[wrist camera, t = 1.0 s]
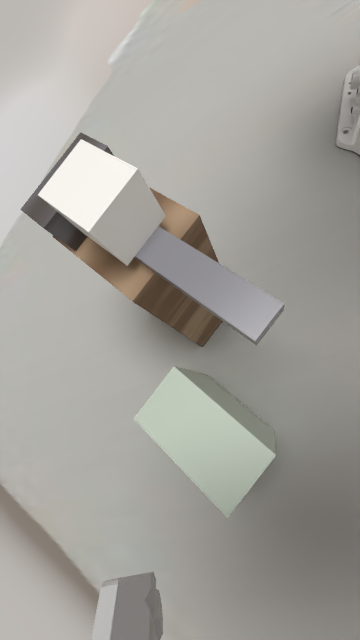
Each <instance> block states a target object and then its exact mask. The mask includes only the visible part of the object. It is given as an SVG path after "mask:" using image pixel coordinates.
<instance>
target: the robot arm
mask: <svg viewBox="0 0 360 640" xmlns="http://www.w3.org/2000/svg"><path fill="white" fill-rule="evenodd" d="M345 133H346V134H345ZM336 145H337V146H338V147H340V148H343V149H347V150H351V151H354V152H356V153H357V154H359V155H360V65H358V66H356V67H355V68H353V69H352V70H351V71H349V72H348V73H347V74H346V77H345V80H344V85H343V92H342V99H341V107H340V114H339V122H338V129H337V136H336ZM162 634H163V617H162V604H161V598H160V593H159V590H157V589H156V578H155V575H154V572H149V573H144V574H138V575H133V576H128V577H123V578H116V579H112V580H107V581H104V582H103V584H102V587H101V589H100V594H99V600H98V605H97V611H96V616H95V621H94V627H93V631H92V637H91V640H160V639H161V636H162Z"/></svg>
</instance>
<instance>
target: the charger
mask: <svg viewBox="0 0 360 640" xmlns="http://www.w3.org/2000/svg"><path fill="white" fill-rule="evenodd" d="M38 196H40V197H41V198H42V199H43V200H44V201H46V202H47V203H48V204H49V205H50V206H51V207H53V208H54V209H55V210H56V211H57V212H59V213H60V214H61V215H62V216H63V217H64V218H66V219H67V220H68V221H69V222H70V223H72V224H73V225H74V226H75V227H76V228H78V229H79V230H80V231H81V232H82V233H84V234H85V235H86V236H88V237H89V238H90V239H92V240H93V241H94V242H96V243H97V244H98V245H100V246H101V247H102V248H104V249H105V250H106V251H108V252H109V253H110V254H112V255H113V256H115V257H116V258H117V259H119V260H120V261H121V262H123V263H124V264H125V265H127V266H128V264H129V263H130V262H131V261H132V259H133V258H135V259H137V260H138V261H139V262H141V263H142V264H144V265H145V266H146V267H148V268H149V269H151V270H152V271H153V272H155V273H156V274H157V275H159V276H160V277H162V278H163V279H164V280H166V281H167V282H169V283H170V284H171V285H173V286H174V287H176V288H177V289H178V290H180V291H181V292H183V293H184V294H185V295H187V296H188V297H190V298H191V299H192V300H194V301H195V302H197V303H198V304H199V305H201V306H202V307H204V308H205V309H206V310H208V311H209V312H211V313H212V314H213V315H215V316H216V317H218V318H219V319H220V320H222V321H223V322H225V323H226V324H227V325H229V326H230V327H232V328H233V329H234V330H236V331H237V332H239V333H240V334H241V335H243V336H244V337H246V338H247V339H248V340H250V341H251V342H253V343H254V344H255V345H257V344H258V343H259V341H260V340H261V339H262V337H263V336H264V335H265V334H266V332H267V331H268V330H269V328H270V327H271V326H272V324H273V323H274V322H275V321H276V319H277V318H278V317H279V315H280V314H281V313H282V312H283V309H284V303H283V302H281V301H279V300H278V299H276V298H274V297H273V296H271V295H270V294H268V293H266V292H265V291H263V290H261V289H260V288H258V287H257V286H255V285H253V284H252V283H250V282H248V281H247V280H245V279H244V278H242V277H240V276H239V275H237V274H235V273H234V272H232V271H231V270H229V269H227V268H226V267H224V266H222V265H221V264H219V263H218V262H216V261H214V260H213V259H211V258H209V257H208V256H206V255H205V254H203V253H201V252H200V251H198V250H196V249H195V248H193V247H192V246H190V245H188V244H187V243H185V242H184V241H182V240H180V239H179V238H177V237H175V236H174V235H172V234H171V233H169V232H167V231H166V230H164V229H162V228H161V227H159V225H160V223H161V222H162V221H163V219H164V218H165V217H166V215H165V213H164V212H163V210H162V208H161V207H160V205H159V203H158V202H157V200H156V198H155V197H154V195H153V193H152V192H151V190H150V188H149V187H148V185H147V183H146V181H145V180H144V178H143V176H142V175H141V173H140V171H139V170H138V168H136V167H134V166H132V165H130V164H128V163H126V162H124V161H122V160H120V159H118V158H116V157H114V156H113V155H111V154H109V153H107V152H105V151H103V150H101V149H99V148H97V147H95V146H93V145H91V144H90V143H88V142H86V141H84V140H82V139H81V140H80V141H79V142H78V144H77V145H76V146H75V147H74V149H73V150H72V151H71V153H70V154H69V155H68V156H67V158H66V159H65V160H64V162H63V163H62V164H61V165H60V167H59V168H58V169H57V171H56V172H55V173H54V174H53V176H52V177H51V178H50V180H49V181H48V182H47V183H46V185H45V186H44V187H43V189H42V190H41V191H40V192H39V194H38Z"/></svg>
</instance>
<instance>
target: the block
mask: <svg viewBox="0 0 360 640" xmlns="http://www.w3.org/2000/svg"><path fill="white" fill-rule="evenodd" d="M133 419H134V420H135V421H136V422H137V423H138V424H139V425H140V426H141V427H142V428H143V429H144V430H145V431H146V432H147V434H148V435H149V436H150V437H151V438H152V439H153V440H154V441H155V442H156V443H157V444H158V445H159V446H160V447H161V448H162V449H163V450H164V452H165V453H166V454H167V455H168V456H169V457H170V458H171V459H172V460H173V461H174V462H175V463H176V464H177V465H178V466H179V467H180V469H181V470H182V471H183V472H184V473H185V474H186V475H187V476H188V477H189V478H190V479H191V480H192V481H193V482H194V483H195V484H196V485H197V487H198V488H199V489H200V490H201V491H202V492H203V493H204V494H205V495H206V496H207V497H208V498H209V499H210V500H211V501H212V502H213V503H214V505H215V506H216V507H217V508H218V509H219V510H220V511H221V512H222V513H223V514H224V515H225V516H226V517H227V518H228V517H229V516H230V514H231V513H232V512H233V511H234V509H235V508H236V507H237V505H238V504H239V503H240V502H241V500H242V499H243V498H244V496H245V495H246V494H247V492H248V491H249V490H250V489H251V487H252V486H253V485H254V483H255V482H256V481H257V479H258V478H259V477H260V476H261V474H262V473H263V472H264V470H265V469H266V468H267V466H268V465H269V464H270V463H271V461H272V460H273V459H274V457H275V456H276V448H275V435H274V430H272V429H271V428H270V427H269V426H268V425H266V424H265V423H264V422H263V421H262V420H261V419H259V418H258V417H257V416H256V415H255V414H253V413H252V412H251V411H250V410H249V409H247V408H246V407H245V406H244V405H243V404H241V403H240V402H239V401H238V400H237V399H235V398H234V397H233V396H232V395H231V394H229V393H228V392H227V391H226V390H225V389H223V388H222V387H221V386H220V385H219V384H217V383H216V382H215V381H214V380H213V379H211V378H210V377H209V376H208V375H205V374H201V373H198V372H194V371H190V370H186V369H183V368H179V367H175V366H174V367H173V368H172V369H171V371H170V372H169V373H168V375H167V376H166V377H165V378H164V380H163V381H162V382H161V384H160V385H159V386H158V387H157V389H156V390H155V391H154V393H153V394H152V395H151V396H150V398H149V399H148V400H147V402H146V403H145V404H144V406H143V407H142V408H141V409H140V411H139V412H138V413H137V415H136V416H135V417H134V418H133Z"/></svg>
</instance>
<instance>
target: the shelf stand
mask: <svg viewBox="0 0 360 640" xmlns="http://www.w3.org/2000/svg"><path fill="white" fill-rule="evenodd" d="M81 139H82V140H84V141H86V142H88V143H90V144H91V145H93V146H95V147H97V148H99V149H101V150H103V151H105V152H107V153H109V154H111V155H113V154H112V152H111V151H110V149H109V148H108V146H106V145H104V144H102V143H100V142H98V141H96V140H94V139H92V138H90V137H88V136H87V135H85V134H83V133H80V134H79V135H78V136H77V138H76V139H75V140H74V142H73V143H72V144H71V145H70V147H69V148H68V149H67V151H66V152H65V153H64V154H63V156H62V157H61V158H60V160H59V161H58V162H57V163H56V165H55V166H54V167H53V169H52V170H51V171H50V172H49V174H48V175H47V176H46V177H45V179H44V180H43V181H42V183H41V184H40V185H39V186H38V188H37V189H36V190H35V192H34V193H33V194H32V195H31V197H30V198H29V199H28V201H27V202H26V203H25V204H24V206H23V207H22V208H21V210H22V211H23V212H24V213H25V214H27V215H28V216H29V217H30V218H32V219H33V220H34V221H35V222H37V223H38V224H39V225H40V226H42V227H43V228H44V229H46V230H47V231H48V232H50V233H51V234H52V235H53V237H54V238H55V239H56V240H57V241H59V242H60V243H61V244H62V245H64V246H65V247H66V248H67V249H69V250H70V251H71V252H72V253H73V254H75V255H76V256H77V257H78V258H80V259H81V260H82V261H83V262H85V263H86V264H87V265H88V266H89V267H91V268H92V269H93V270H94V271H96V272H97V273H98V274H99V275H101V276H102V277H103V278H104V279H106V280H107V281H108V282H109V283H110V284H112V285H113V286H114V287H115V288H117V289H118V290H119V291H120V292H122V293H123V294H124V295H125V296H126V297H128V298H129V299H130V300H131V301H133V302H134V303H136V304H137V305H139V306H140V307H142V308H143V309H145V310H146V311H148V312H150V313H151V314H153V315H154V316H156V317H157V318H159V319H160V320H162V321H163V322H165V323H166V324H168V325H169V326H171V327H172V328H174V329H176V330H177V331H179V332H180V333H182V334H183V335H185V336H186V337H188V338H189V339H191V340H192V341H194V342H195V343H197V344H198V345H200V346H202V347H203V346H204V344H205V343H206V342H207V340H208V339H209V338H210V337H211V335H212V334H213V333H214V331H215V330H216V329H217V328H218V326H219V325H220V324H221V322H222V320H220V319H219V318H218V317H216V316H215V315H213V314H212V313H211V312H209V311H208V310H206V309H205V308H204V307H202V306H201V305H199V304H198V303H197V302H195V301H194V300H192V299H191V298H190V297H188V296H187V295H185V294H184V293H183V292H181V291H180V290H178V289H177V288H176V287H174V286H173V285H171V284H170V283H169V282H167V281H166V280H164V279H163V278H162V277H160V276H159V275H157V274H156V273H155V272H153V271H152V270H151V269H149V268H148V267H146V266H145V265H144V264H142V263H141V262H139V261H138V260H137V259H135V258H133V259H132V261H131V262H130V263H129V264H128V266H127V265H125V264H124V263H123V262H121V261H120V260H119V259H117V258H116V257H115V256H113V255H112V254H110V253H109V252H108V251H106V250H105V249H104V248H102V247H101V246H100V245H98V244H97V243H96V242H94V241H93V240H92V239H90V238H89V237H88V236H86V235H85V234H84V233H82V232H81V231H80V230H79V229H78V228H76V227H75V226H74V225H73V224H72V223H70V222H69V221H68V220H67V219H66V218H64V217H63V216H62V215H61V214H60V213H59V212H57V211H56V210H55V209H54V208H53V207H51V206H50V205H49V204H48V203H47V202H46V201H44V200H43V199H42V198H41V197H40V196H38V194H39V192H40V191H41V190H42V189H43V187H44V186H45V185H46V183H47V182H48V181H49V180H50V178H51V177H52V176H53V174H54V173H55V172H56V171H57V169H58V168H59V167H60V165H61V164H62V163H63V162H64V160H65V159H66V158H67V156H68V155H69V154H70V153H71V151H72V150H73V149H74V147H75V146H76V145H77V144H78V142H79V141H80V140H81ZM113 156H114V155H113ZM150 190H151V192H152V193H153V195H154V197H155V198H156V200H157V202H158V203H159V205H160V207H161V208H162V210H163V212H164V213H165V215H166V217H165V218H164V219H163V221H162V222H161V223H160V225H159V227H161V228H162V229H164V230H166V231H167V232H169V233H171V234H172V235H174V236H175V237H177V238H179V239H180V240H182V241H184V242H185V243H187V244H188V245H190V246H192V247H193V248H195V249H196V250H198V251H200V252H201V253H203V254H205V255H206V256H208V257H209V258H211V259H213V260H214V261H216V262H218V260H217V257H216V255H215V252H214V250H213V247H212V245H211V242H210V240H209V238H208V235H207V233H206V230H205V228H204V225H203V223H202V220H201V218H200V215H198V214H196V213H195V212H193V211H191V210H189V209H187V208H185V207H184V206H182V205H180V204H178V203H176V202H175V201H173V200H171V199H169V198H167V197H165V196H164V195H162V194H160V193H158V192H156V191H154V190H153V189H151V188H150ZM218 263H219V262H218Z"/></svg>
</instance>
